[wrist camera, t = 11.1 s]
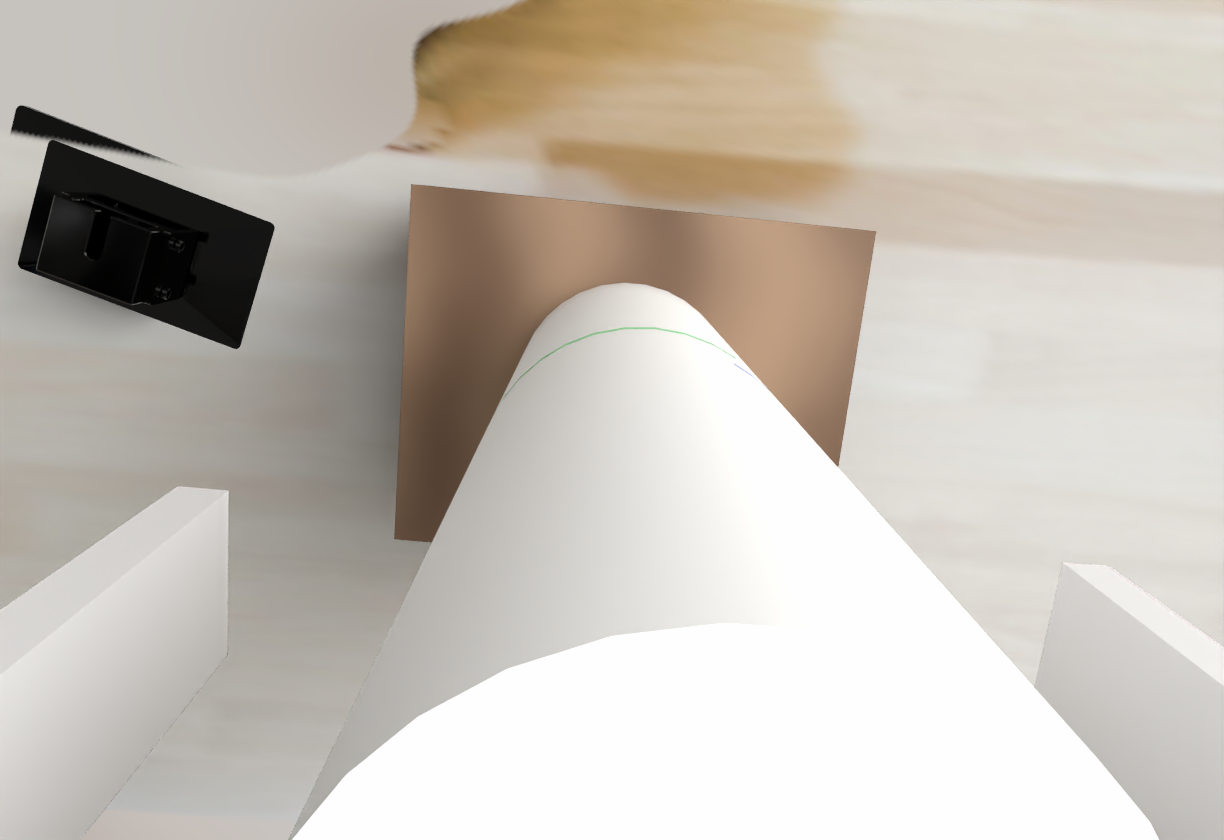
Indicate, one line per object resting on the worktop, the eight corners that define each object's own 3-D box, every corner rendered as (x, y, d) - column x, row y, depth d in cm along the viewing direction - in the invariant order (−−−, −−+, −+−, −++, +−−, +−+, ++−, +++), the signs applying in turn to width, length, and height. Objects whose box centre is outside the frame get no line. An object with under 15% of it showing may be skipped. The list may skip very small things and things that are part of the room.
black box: (322, 220, 38) (285, 222, 34) (270, 383, 40) (229, 405, 35) (22, 103, 37) (-57, 89, 32) (-19, 275, 38) (-100, 285, 34)
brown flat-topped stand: (434, 472, 40) (394, 538, 32) (450, 187, 37) (411, 184, 30) (778, 503, 41) (820, 576, 33) (818, 224, 38) (876, 231, 30)
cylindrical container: (626, 532, 32) (711, 1545, 8) (474, 392, 31) (26, 1088, 7) (775, 387, 31) (1401, 1053, 7) (623, 236, 30) (728, 398, 6)
